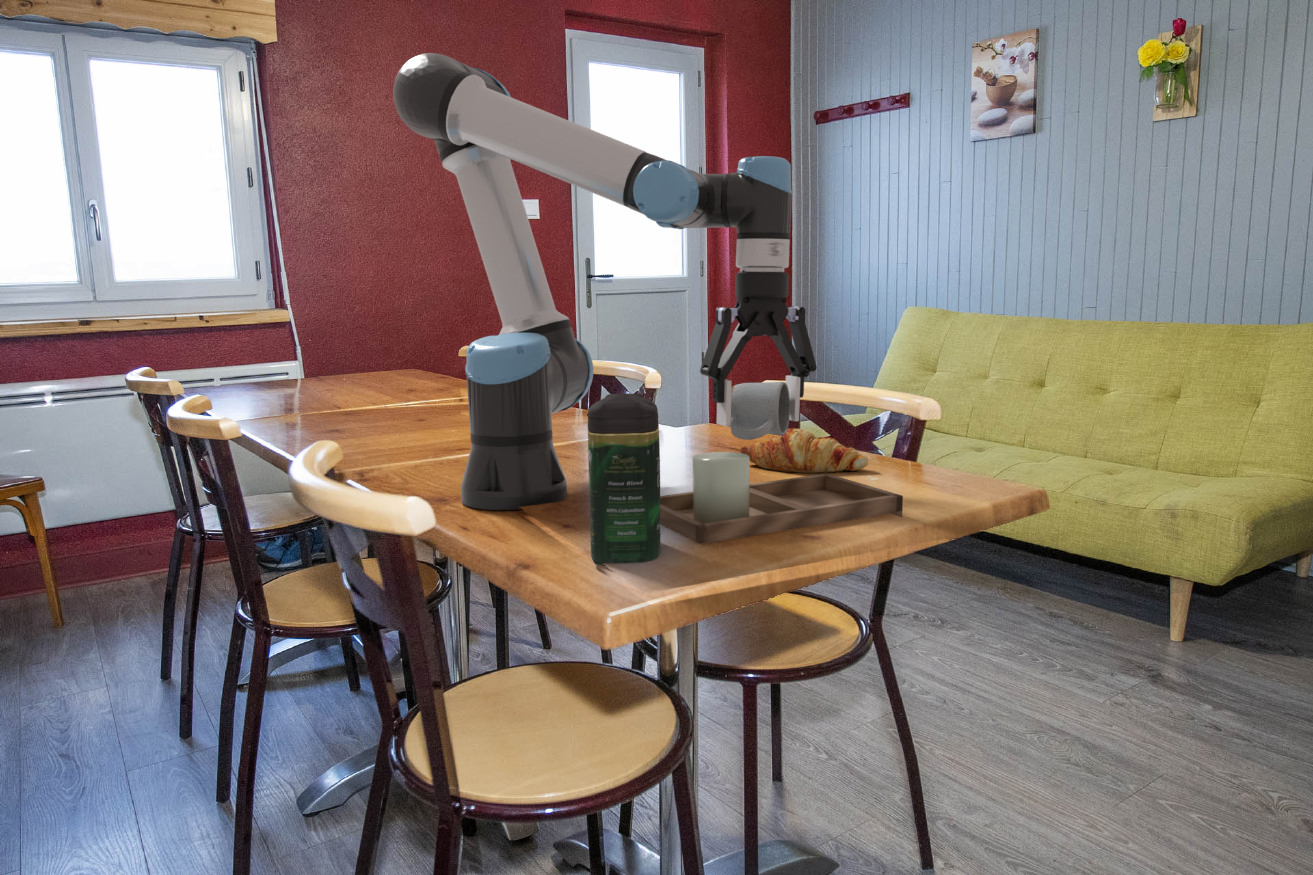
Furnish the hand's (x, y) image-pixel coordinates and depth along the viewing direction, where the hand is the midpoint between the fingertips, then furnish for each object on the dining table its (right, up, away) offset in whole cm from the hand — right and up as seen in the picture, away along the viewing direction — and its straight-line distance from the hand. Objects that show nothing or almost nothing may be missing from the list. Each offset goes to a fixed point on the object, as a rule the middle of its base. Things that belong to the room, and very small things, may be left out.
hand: (758, 422), depth 137 cm
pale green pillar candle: (-7, -12, -20) cm, 24 cm away
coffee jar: (-18, -16, -32) cm, 40 cm away
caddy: (0, -13, -17) cm, 21 cm away
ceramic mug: (0, -2, -1) cm, 2 cm away
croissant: (+9, -8, +15) cm, 19 cm away
